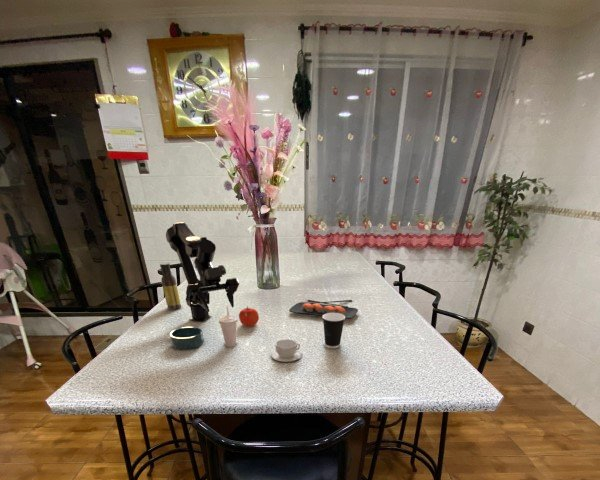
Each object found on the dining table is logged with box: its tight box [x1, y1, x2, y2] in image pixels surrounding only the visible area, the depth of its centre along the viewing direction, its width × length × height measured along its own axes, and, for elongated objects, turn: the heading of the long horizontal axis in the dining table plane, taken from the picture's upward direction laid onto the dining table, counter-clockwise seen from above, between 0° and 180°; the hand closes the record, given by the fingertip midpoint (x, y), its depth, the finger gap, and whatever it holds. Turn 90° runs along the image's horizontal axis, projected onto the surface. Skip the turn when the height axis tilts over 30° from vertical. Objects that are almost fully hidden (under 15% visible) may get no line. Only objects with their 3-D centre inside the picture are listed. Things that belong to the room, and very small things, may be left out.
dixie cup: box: [321, 313, 346, 350], centre depth 126 cm, size 8×8×11 cm
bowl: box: [169, 326, 205, 351], centre depth 130 cm, size 11×11×4 cm
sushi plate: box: [289, 299, 359, 320], centre depth 164 cm, size 29×30×4 cm
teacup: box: [271, 338, 302, 363], centre depth 121 cm, size 10×10×5 cm
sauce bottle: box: [159, 262, 182, 311], centre depth 162 cm, size 6×6×20 cm
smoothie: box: [218, 305, 238, 348], centre depth 127 cm, size 6×6×14 cm
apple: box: [238, 306, 260, 328], centre depth 145 cm, size 8×8×8 cm
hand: (221, 309), depth 129 cm, fingers open, 9 cm apart
